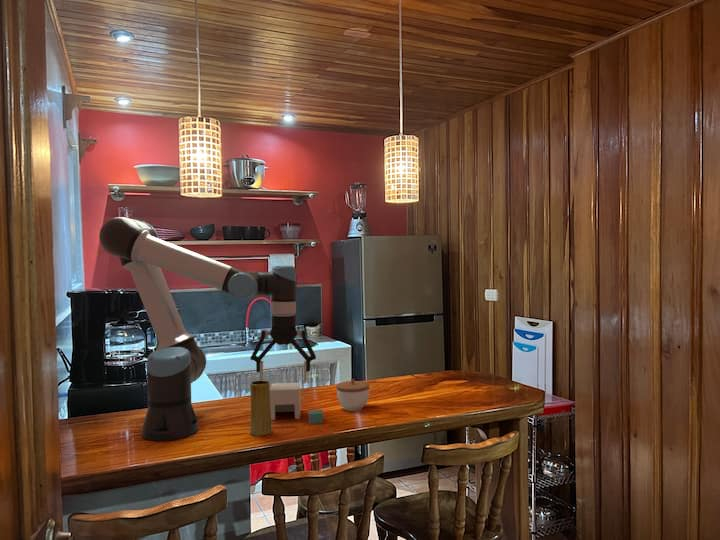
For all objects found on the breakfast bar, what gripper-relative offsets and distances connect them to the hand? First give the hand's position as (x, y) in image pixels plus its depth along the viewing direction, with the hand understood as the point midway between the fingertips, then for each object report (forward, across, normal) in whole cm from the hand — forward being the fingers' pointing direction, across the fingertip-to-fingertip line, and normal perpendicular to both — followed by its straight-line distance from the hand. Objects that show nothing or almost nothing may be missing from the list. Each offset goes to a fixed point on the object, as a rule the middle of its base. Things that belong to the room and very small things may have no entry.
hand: (283, 382), depth 162 cm
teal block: (+10, -10, +8) cm, 16 cm away
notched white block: (+10, -1, 0) cm, 10 cm away
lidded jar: (+10, -22, -4) cm, 25 cm away
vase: (+11, +5, +16) cm, 20 cm away
